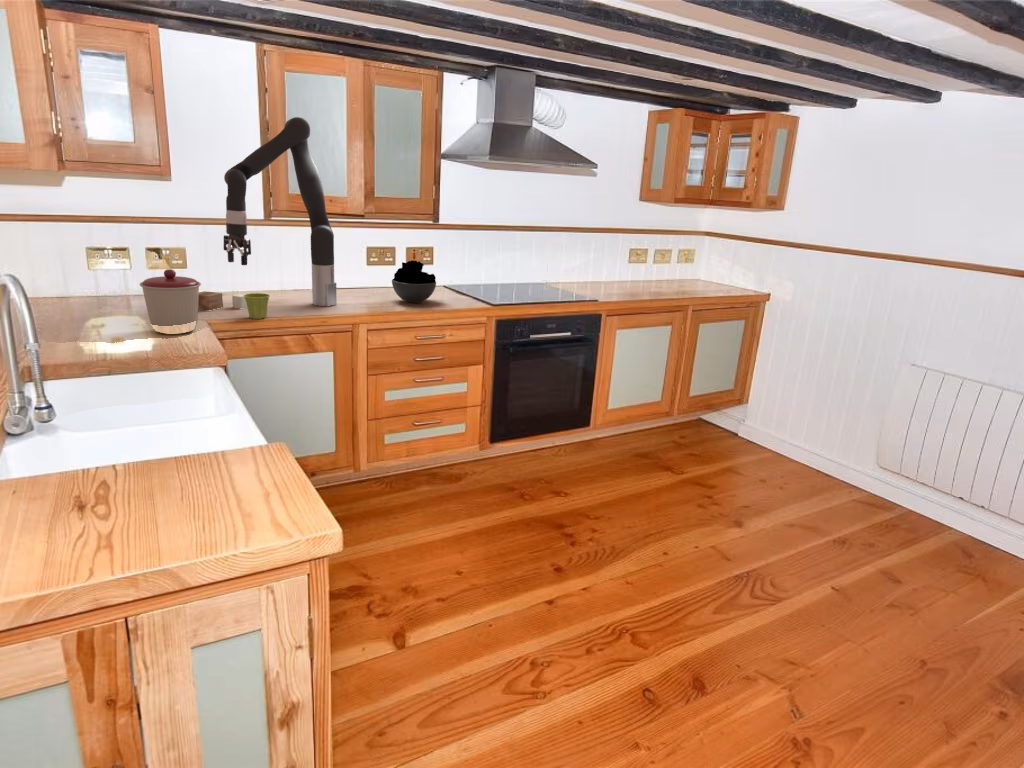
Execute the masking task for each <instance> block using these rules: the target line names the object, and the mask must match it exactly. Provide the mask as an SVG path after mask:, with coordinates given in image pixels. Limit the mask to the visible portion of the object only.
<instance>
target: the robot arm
mask: <svg viewBox="0 0 1024 768" xmlns="http://www.w3.org/2000/svg"><path fill="white" fill-rule="evenodd" d="M311 132H312V127H311V124H310V122H309V121H308V120H307V119H305V118H303V117H300V116H296V117H295V116H294V117H292V118H291V119H288V120H287V121H286V122H285V124H284V128H283V129H282V130H281V131H280V132H279V133H278V134H277V135H276V136H274V137H273V138H272V139H270V140H269V141H267V142H266V143H264V144H263V145H261V146H260V147H258V148H256V149H255V150H254V151H253V152H251V153H250V154H249V155H248V156H246V157H245V158H244V159H243V160H241V161H240V162H238V163H236V164H234V166H232V167H231V168H229V169H227V171H225V173H224V181H225V182H224V183H225V184H226V186H227V194H226V195H227V196H226V197H225V198H226V199H225V203H226V204H225V206H226V209H225V210H226V211H225V232H226V234H227V235H223V251H226V253H227V262H228V263H234V262H235V255H234V254H235V253H234V252H235V250H237V251H238V252H239V254H240V265H241V266H248V256H250V255H252V249H251V248H252V247H251V242H252V241H251V239H249V238H245V237H246V236H247V234H248V226H247V225H248V223H247V221H248V220H247V218H248V217H247V206H246V194H247V181H248V180H249V179H250V178H253V177H254V176H257V175H259V174H260V173H261V172H263V171H264V170H265V169H266V168H268V167H269V166H270V165H271V164H272V163H273V162H274V161H276V160H277V159H278V158H280V156H281V155H283V154H284V153H285V152H287V151H288V150H290V152H291V155H292V159H293V166H294V172H295V176H296V180H297V181H296V182H297V185H298V189H299V192H300V196H301V199H302V202H303V204H304V207H305V209H306V211H307V215H308V217H309V224H310V230H311V233H310V259H311V287H312V288H311V291H312V292H311V294H312V296H311V297H312V305H313V304H314V306H317V305H318V307H320V306H321V307H331V305H332V306H337V304H338V303H337V302H338V301H337V282H335V246H334V245H335V243H334V242H335V241H334V238H335V235H334V232H333V229H332V227H331V224H330V220H329V217H328V214H327V211H326V210H327V209H326V200H325V194H324V187H323V184H322V180H321V179H322V178H321V177H320V173H319V170H318V168H317V165H316V164H315V162H314V159H313V157H312V154H311V150H310V144H309V138H310V136H311Z"/></svg>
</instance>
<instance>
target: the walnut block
mask: <svg viewBox="0 0 1024 768" xmlns="http://www.w3.org/2000/svg"><path fill="white" fill-rule="evenodd" d="M223 298H224V297H223V293H222V292H214V291H199V299H198V309H203V310H202V311H205V310H212V311H214V310H213V309H216V310H218V309H217V308H220V309H222V308H221V307H223V308H224V301H223Z"/></svg>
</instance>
